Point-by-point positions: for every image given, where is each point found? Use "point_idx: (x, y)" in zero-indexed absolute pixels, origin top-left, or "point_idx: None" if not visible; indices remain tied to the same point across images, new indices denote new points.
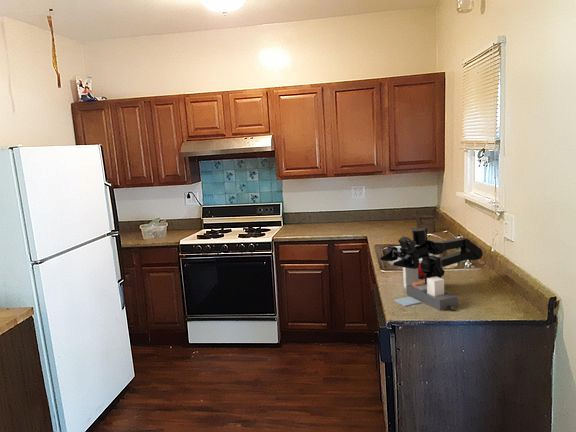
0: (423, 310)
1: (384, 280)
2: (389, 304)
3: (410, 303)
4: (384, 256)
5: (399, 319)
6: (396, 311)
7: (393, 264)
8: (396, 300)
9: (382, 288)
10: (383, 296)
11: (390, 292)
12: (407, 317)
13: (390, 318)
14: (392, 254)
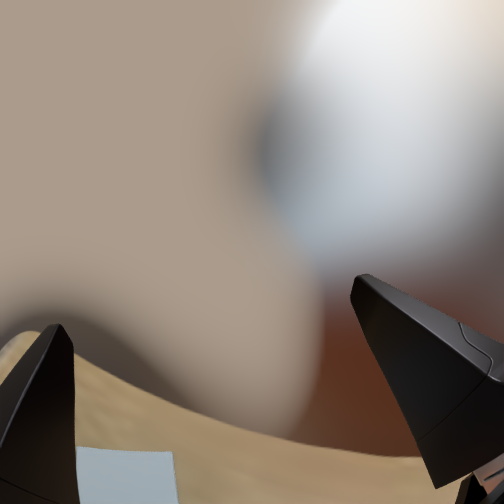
0: None
1: None
2: (135, 407)
3: (84, 483)
4: (396, 316)
5: (11, 348)
6: None
7: (62, 334)
8: (154, 457)
9: (391, 461)
10: (260, 435)
11: (314, 489)
12: (4, 377)
13: (32, 331)
14: (498, 455)
